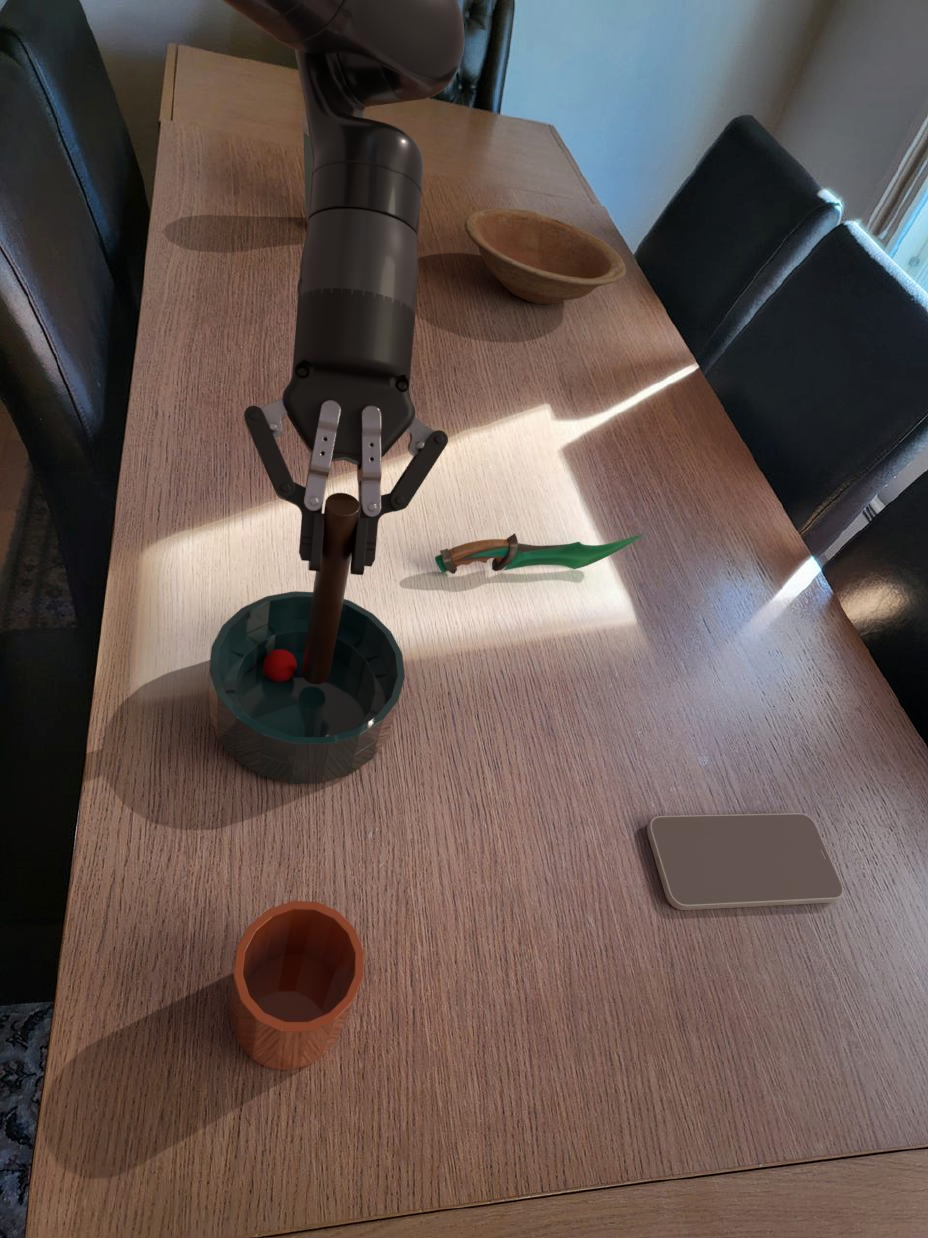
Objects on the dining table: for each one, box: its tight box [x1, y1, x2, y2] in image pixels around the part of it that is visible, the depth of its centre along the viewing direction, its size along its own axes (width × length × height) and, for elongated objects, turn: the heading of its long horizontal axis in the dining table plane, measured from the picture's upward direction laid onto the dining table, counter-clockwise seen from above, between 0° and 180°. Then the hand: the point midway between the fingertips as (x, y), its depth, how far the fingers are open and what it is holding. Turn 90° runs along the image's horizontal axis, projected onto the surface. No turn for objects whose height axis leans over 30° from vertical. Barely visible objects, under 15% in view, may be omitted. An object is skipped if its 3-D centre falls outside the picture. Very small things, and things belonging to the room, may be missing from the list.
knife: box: [434, 532, 646, 575], centre depth 81 cm, size 21×2×5 cm, turn 105°
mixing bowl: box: [208, 590, 406, 784], centre depth 64 cm, size 14×14×6 cm
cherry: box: [263, 649, 297, 682], centre depth 66 cm, size 3×3×3 cm
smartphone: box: [646, 812, 844, 911], centre depth 65 cm, size 7×1×15 cm
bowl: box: [464, 207, 627, 305], centre depth 120 cm, size 24×24×8 cm
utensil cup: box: [230, 900, 365, 1071], centre depth 48 cm, size 7×7×8 cm
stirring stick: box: [302, 492, 360, 684], centre depth 59 cm, size 2×2×18 cm
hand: (336, 571), depth 54 cm, fingers closed on stirring stick, 2 cm apart
